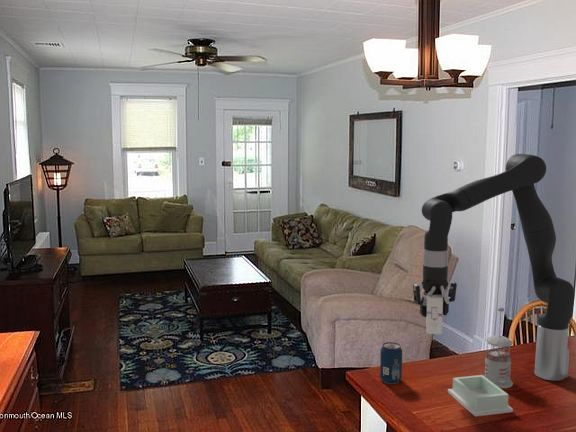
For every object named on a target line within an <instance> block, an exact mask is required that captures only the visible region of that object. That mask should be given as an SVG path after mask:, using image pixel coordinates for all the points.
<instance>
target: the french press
mask: <svg viewBox="0 0 576 432" xmlns="http://www.w3.org/2000/svg"><path fill="white" fill-rule="evenodd" d="M497 311H498V312H499V314H500V316H499V324H501V323H502V322H501V319H502V312H505V309H504V307H503V306H499V307H498V308H497ZM498 332H499V333H498V335H497V334H496V335H492V336H488V337H486V339H485V341H486V343H487V344H488V345H490V346H494V347H497V348H494V349H493V348H492V349H488V350H487V351H486V354H485V361H484V363H485V366H484V375H483V376H484V377H486V378H487V379H488V380H490V381H491V382H492V383H494V384H495V385H496V386H498V387H499V388H500V389H508V388H512V387H513V385H514V382H513V381H512V380H511V371H512V370H511V366H512V365H511V364H512V358H511V357H510V356H511V353H510V350H511V348H510V347H511V346H512V345H513V343H514V342H513V340H511V339H510V338H508V337H506V336H503V335H501V327H499V330H498ZM500 348H503V349H500ZM506 348H508V351H507V350H506Z"/></svg>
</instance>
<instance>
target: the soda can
mask: <svg viewBox="0 0 576 432" xmlns="http://www.w3.org/2000/svg"><path fill="white" fill-rule="evenodd" d="M379 360H380V362H379V363H380V365H379V377H380V379H381V381H382V382H383V383H384V384H388V385H396V384H399V382H401V380H402V378H403V377H402V375H403V370H402V369H403V350H402V345H401V344H400V343H398V342H392V341H387V342H384V343H382V346H381V348H380V359H379Z"/></svg>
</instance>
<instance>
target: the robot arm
mask: <svg viewBox="0 0 576 432" xmlns="http://www.w3.org/2000/svg"><path fill="white" fill-rule="evenodd" d="M546 173H547V164H546V162H545V160H544V159H543V158H542V157H540V156H539V155H534V154H525V153H516V154H515V153H514V154H512V155H511V156H510V157H509V158H508V159H507V161H506V164H505V171H504V172H501V173H497V174H496V175H495V174H494V175H491V176H489V177H485V178H480V179H477V180H474V181H472V182H469V183H466V184H465V185H462V186H460V187H458V188H456V189H454V190H452V191H448V192H445V193H441V194H438V195H436V196H434V197H431V198H429V199H427V200H425V202H424V203H423V204H422V206H421V214H422V216H423V217H424V219H426V220H427V221H429V227H428V228H429V229H428V230H426V231H425V232H424V241H423V254H422V282H421V283H418V284H416V283H413V285H412V293H413V302H414V303H416V304H417V305H419V314H420V315H421V316H422V317H423V318H426V316H427V306H426V304H427V296H432V295H442V293H443V316H447V315H448V314H449V311H450V310H449V308H450V305H449V304H450V303H451V302H452V303H453V302H455V300H456V295H457V287H458V283H457V282H454V281H453V280H450V281H448V278H449V276H448V275H449V273H448V272H449V253H448V247H449V246H448V245H449V244H448V243H449V238H448V237H449V233H450V230H451V226H452V221H453V213H455V212H464V211H466V210H469V209H472V208H474V207H475V206H478V205H480V204H482V203H484V202H486V201H488V200H490V199H493V198H495V197H497V196H500V195H502V194H504V193H509V192H511V191H512V194H513V196H514V200H515V204H516V209H517V212H518V216H519V220H520V225H521V229H522V233H523V238H524V241H525V244H526V249H527V253H528V257H529V258H528V259H529V262H530V266H531V273H532V274H531V275H532V281H533V288H534V292H535V295H536V297H537V298H538V300H540V301H541V302H543V303H546V304H547V305H546V306H547V307H546V312H545V313H540V314H539V315H538V317H537V326H536V327H537V329H536V330H537V331H536V341H535V342H536V346H535V360H534V375H535V376H537V377H538V378H540V379H543V380H545V381H546V380H548V381H553V382H555V381H556V382H557V381H558V382H559V381H563V380H565V379H566V378H568V375H569V363H570V362H569V360H570V349H569V348H568V341H569V340H568V338H569V337H568V336H569V327H570V326H569V325H570V322H571V320H572V317H573V311H574V305H575V304H574V303H575V288H574V285H573V284H572V283H571V282H570V281H568V280H566V279H563V278H561V277H558V276H557V274H556V272H555V269H554V264H553V254H554V250H555V246H556V242H557V235H556V231H555V228H554V221H553V219H552V217H551V215H550V213H549V211H548V208H546V207H545V205H544V204H543V201H542V200H541V199H540V197H539V195H538V193H537V190H536V186H535V184H537V183H540V181H541V180H542V179H544V177H545V176H546ZM441 286H442V289H441ZM447 288H448V293H447V292H446V290H447ZM422 290H423V292H422V293H421V291H422ZM426 295H427V296H426Z"/></svg>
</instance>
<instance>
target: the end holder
mask: <svg viewBox="0 0 576 432" xmlns="http://www.w3.org/2000/svg"><path fill="white" fill-rule="evenodd" d="M484 376H485V375H483V374H480V375H479V374H477V375H470V376H469V375H468V376H459V377H458V376H457V377H453V378H452V388H448V389H447V393H448V394H449V395H450V396H452V397H453V399H455V400H456V401H457V402H458V403H459V404H461V406H462V407H464V408H465V409H466V411H468V412H469V413H470V414H472V415H473V416H474V417H482V416H490V415H491V416H492V415H500V414H505V413H506V414H508V413H513V412H514V408H512V407H511V406H510V405H509V394H508V393H507V392H506V391H504V390H503V388H499V387H498V386H496V385H495V384H494V383H492V382H491V381H490V380H488V379H487V378H486V377H484Z"/></svg>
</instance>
